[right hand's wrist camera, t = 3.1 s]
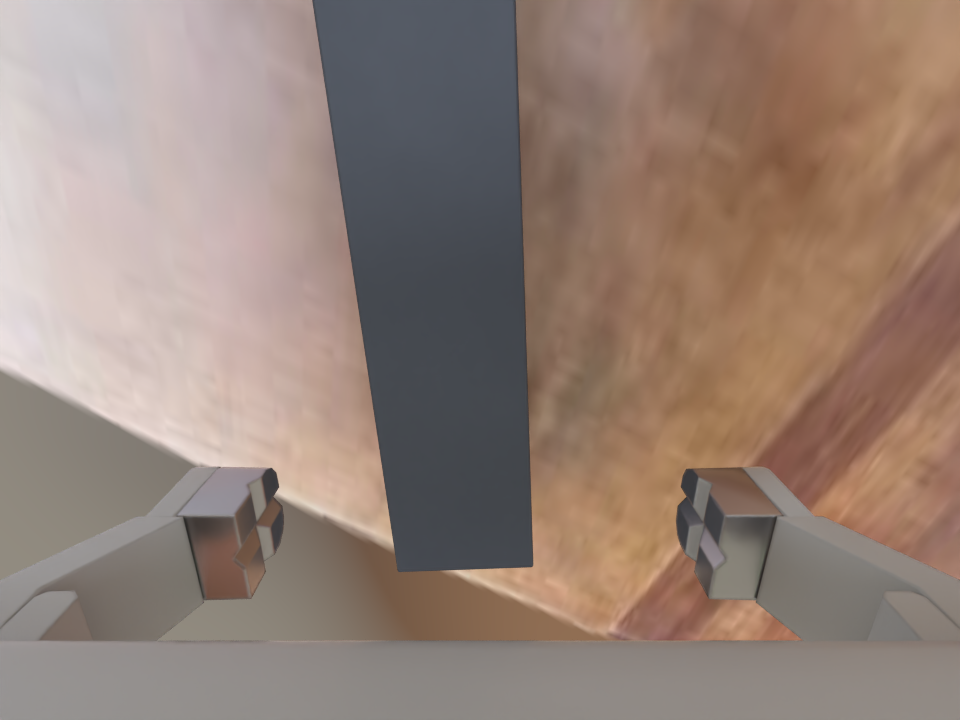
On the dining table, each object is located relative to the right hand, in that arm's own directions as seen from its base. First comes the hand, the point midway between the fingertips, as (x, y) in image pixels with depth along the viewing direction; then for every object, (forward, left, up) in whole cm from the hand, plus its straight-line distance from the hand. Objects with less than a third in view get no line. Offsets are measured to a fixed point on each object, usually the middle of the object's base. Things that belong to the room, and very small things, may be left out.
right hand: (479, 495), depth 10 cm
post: (+10, -16, -16) cm, 25 cm away
